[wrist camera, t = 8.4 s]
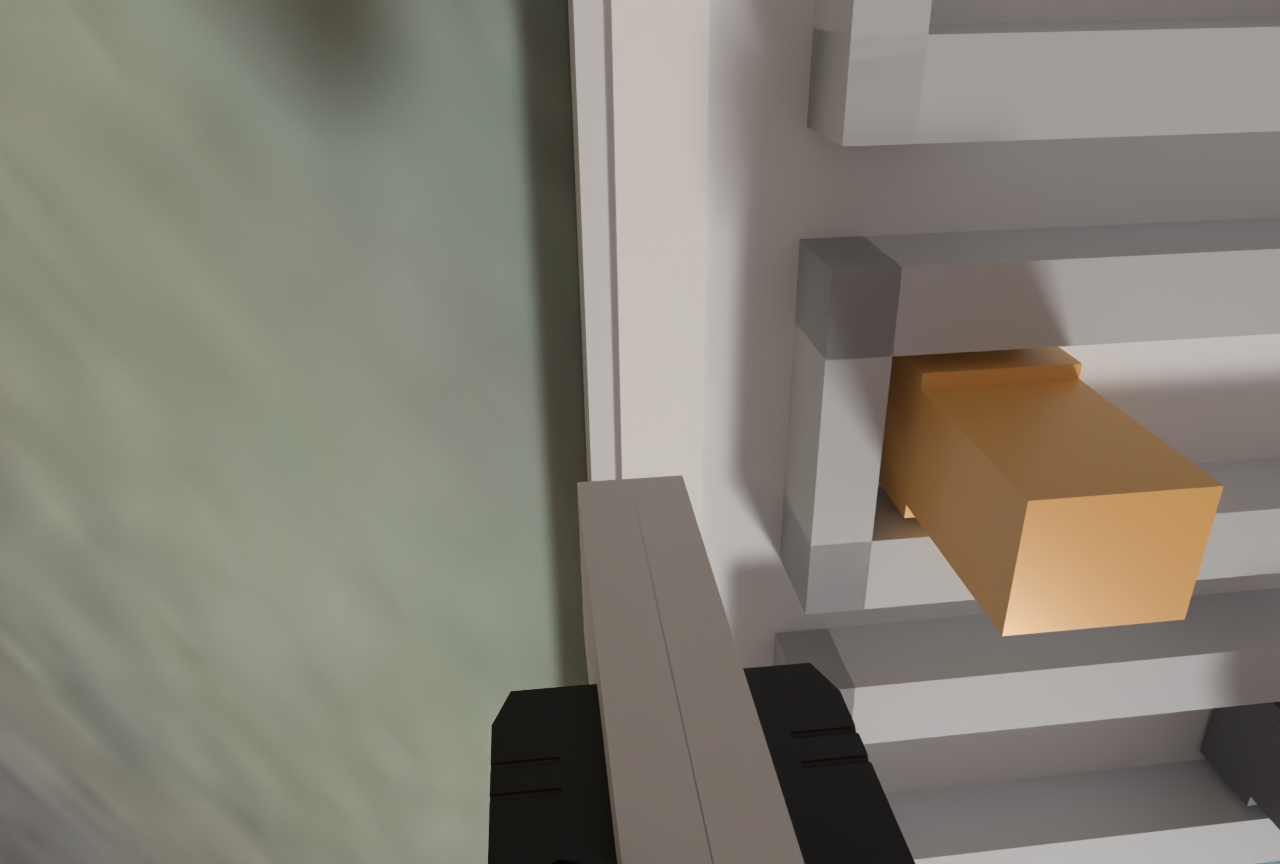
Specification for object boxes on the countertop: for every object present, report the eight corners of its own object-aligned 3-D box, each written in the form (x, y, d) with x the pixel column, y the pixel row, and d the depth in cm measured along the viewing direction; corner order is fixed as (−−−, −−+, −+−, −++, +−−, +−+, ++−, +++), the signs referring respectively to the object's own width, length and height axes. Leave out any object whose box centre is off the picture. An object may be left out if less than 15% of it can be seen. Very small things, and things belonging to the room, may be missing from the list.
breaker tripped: (872, 473, 20) (999, 652, 15) (886, 337, 19) (1031, 482, 14) (1009, 463, 20) (1180, 634, 15) (1033, 329, 19) (1229, 468, 14)
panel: (602, 848, 26) (615, 969, 23) (549, -443, 14) (562, -553, 11) (1407, 759, 29) (1516, 856, 26) (1933, -401, 17) (2254, -481, 14)
